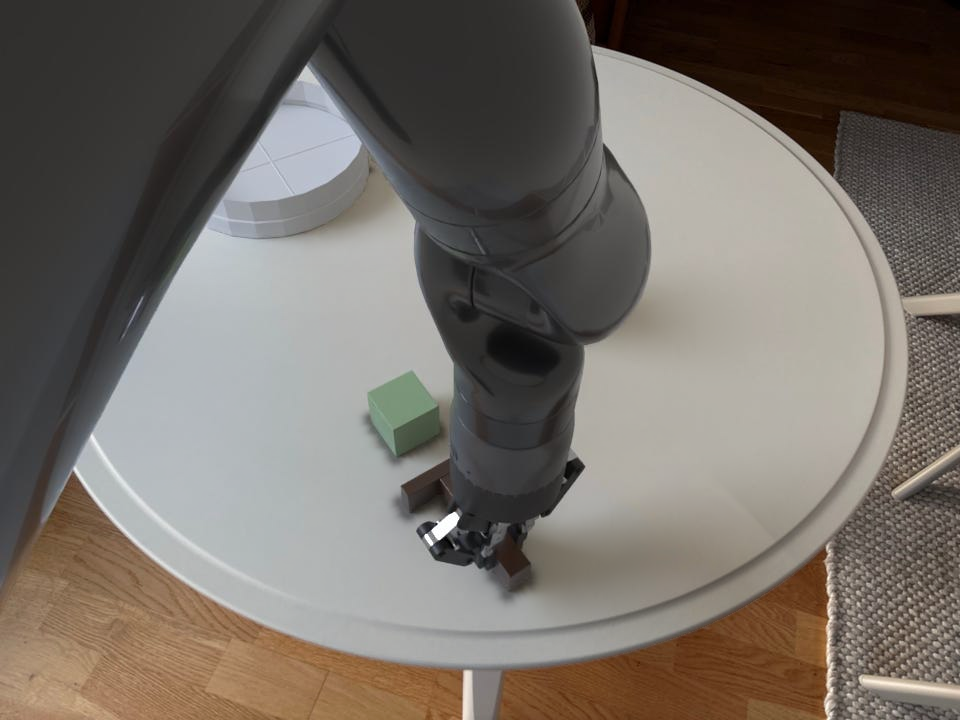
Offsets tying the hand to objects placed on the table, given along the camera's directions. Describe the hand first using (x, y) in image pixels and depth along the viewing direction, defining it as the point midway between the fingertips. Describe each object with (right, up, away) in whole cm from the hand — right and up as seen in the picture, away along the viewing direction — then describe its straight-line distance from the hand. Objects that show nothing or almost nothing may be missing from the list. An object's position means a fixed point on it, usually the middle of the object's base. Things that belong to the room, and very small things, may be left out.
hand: (497, 550), depth 62 cm
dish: (-25, +37, +28) cm, 53 cm away
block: (-8, +9, +8) cm, 14 cm away
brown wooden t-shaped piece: (-1, +1, +2) cm, 2 cm away
